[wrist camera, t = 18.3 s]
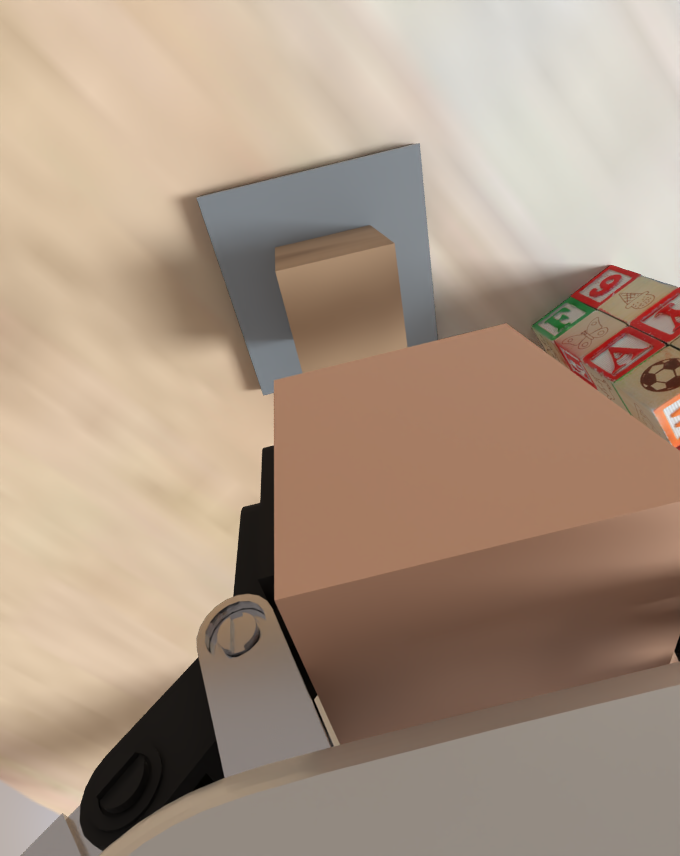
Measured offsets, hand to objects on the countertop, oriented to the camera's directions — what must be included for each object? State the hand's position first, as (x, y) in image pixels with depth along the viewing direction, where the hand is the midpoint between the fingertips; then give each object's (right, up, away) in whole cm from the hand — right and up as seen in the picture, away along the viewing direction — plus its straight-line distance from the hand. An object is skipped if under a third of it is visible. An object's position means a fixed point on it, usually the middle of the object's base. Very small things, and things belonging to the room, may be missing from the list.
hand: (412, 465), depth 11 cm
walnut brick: (-2, +9, +15) cm, 18 cm away
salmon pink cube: (0, 0, +1) cm, 1 cm away
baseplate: (-2, +10, +16) cm, 19 cm away
